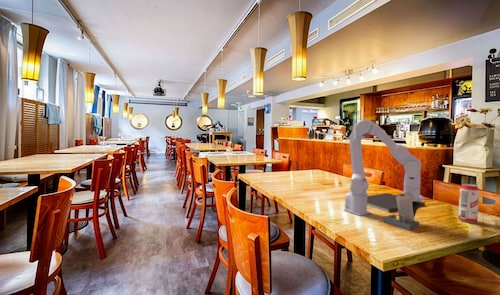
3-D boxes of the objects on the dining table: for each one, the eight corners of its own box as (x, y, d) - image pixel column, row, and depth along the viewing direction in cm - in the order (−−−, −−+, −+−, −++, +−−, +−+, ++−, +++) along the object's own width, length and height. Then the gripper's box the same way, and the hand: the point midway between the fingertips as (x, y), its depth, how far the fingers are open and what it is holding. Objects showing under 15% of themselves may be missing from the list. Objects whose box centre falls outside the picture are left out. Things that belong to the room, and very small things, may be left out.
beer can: (454, 219, 108) (456, 183, 107) (463, 218, 110) (465, 182, 109) (471, 224, 102) (474, 186, 101) (480, 222, 104) (483, 185, 103)
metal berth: (384, 222, 104) (384, 216, 104) (393, 219, 107) (393, 214, 107) (409, 231, 95) (410, 224, 95) (419, 227, 98) (419, 221, 98)
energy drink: (411, 217, 105) (407, 192, 102) (416, 224, 99) (413, 197, 97) (397, 219, 106) (394, 194, 104) (402, 226, 101) (399, 199, 98)
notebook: (388, 213, 117) (424, 206, 129) (388, 208, 117) (425, 202, 129) (353, 201, 137) (387, 196, 149) (353, 197, 137) (387, 192, 148)
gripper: (412, 191, 96) (410, 224, 97) (431, 187, 103) (429, 218, 104) (394, 187, 103) (393, 219, 103) (413, 184, 110) (412, 213, 110)
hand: (410, 218), depth 104 cm, fingers closed
